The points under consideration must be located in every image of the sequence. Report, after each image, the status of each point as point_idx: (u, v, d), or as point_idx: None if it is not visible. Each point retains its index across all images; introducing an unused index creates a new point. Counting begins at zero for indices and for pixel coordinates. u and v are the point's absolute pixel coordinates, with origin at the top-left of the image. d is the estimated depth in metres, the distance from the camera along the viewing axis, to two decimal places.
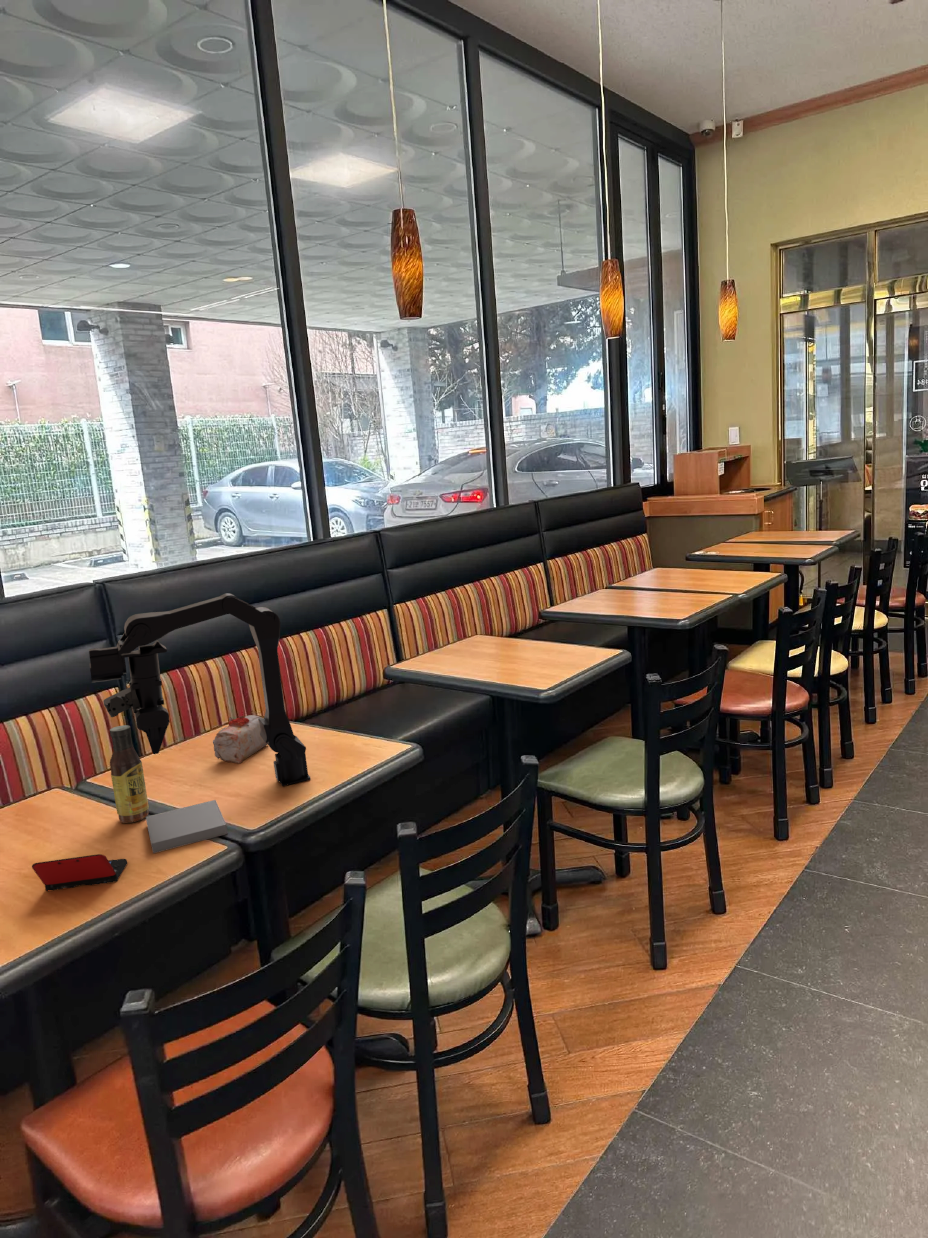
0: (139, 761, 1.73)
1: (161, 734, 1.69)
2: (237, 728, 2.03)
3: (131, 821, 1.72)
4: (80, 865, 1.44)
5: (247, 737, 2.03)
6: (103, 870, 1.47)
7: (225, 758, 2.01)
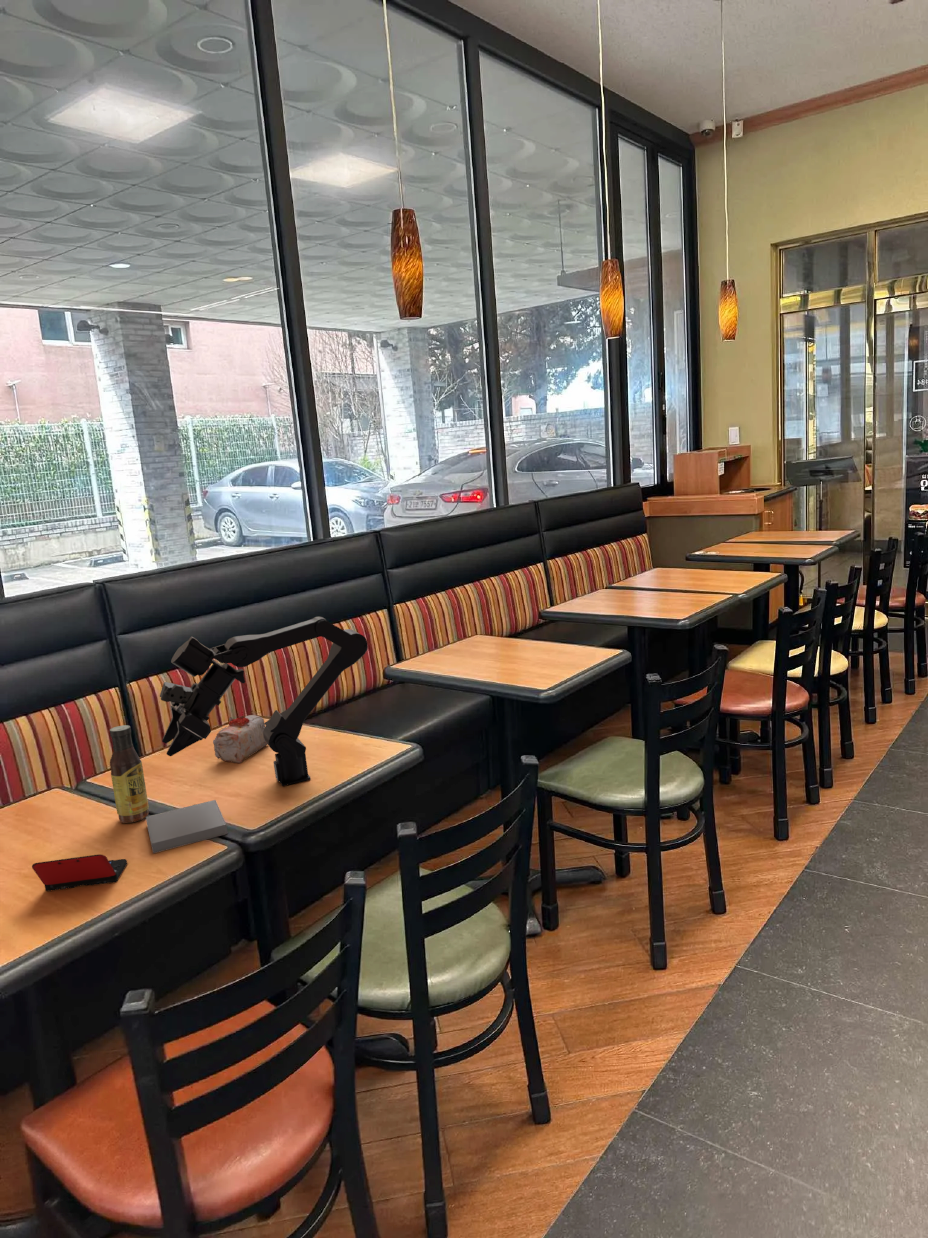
0: (139, 761, 1.73)
1: (187, 743, 1.72)
2: (237, 728, 2.03)
3: (131, 821, 1.72)
4: (80, 865, 1.44)
5: (247, 737, 2.03)
6: (103, 870, 1.46)
7: (225, 758, 2.01)
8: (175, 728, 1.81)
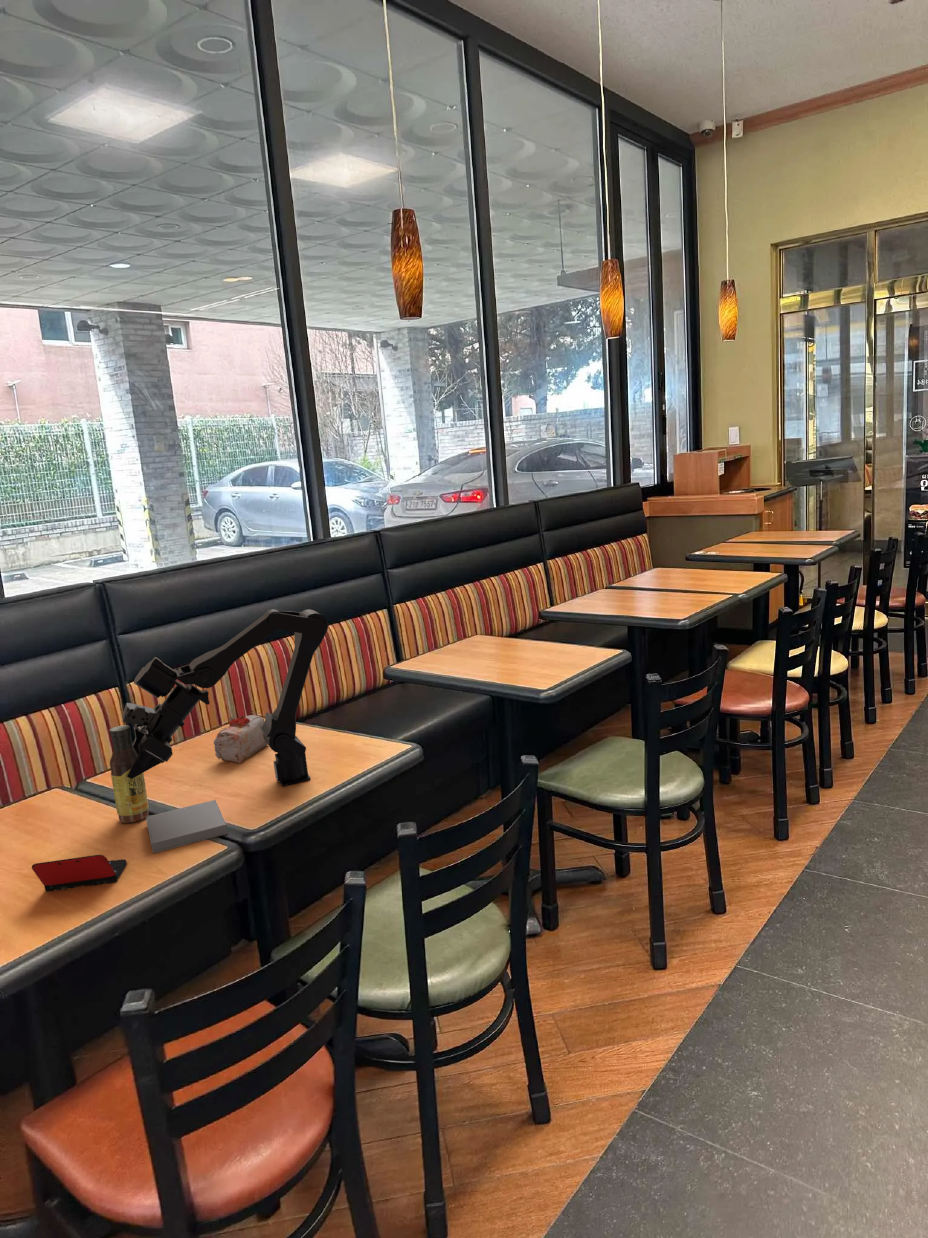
0: None
1: (149, 765, 1.69)
2: (238, 728, 2.03)
3: (131, 821, 1.72)
4: (80, 865, 1.44)
5: (247, 737, 2.03)
6: (103, 871, 1.46)
7: (226, 758, 2.01)
8: (138, 749, 1.78)
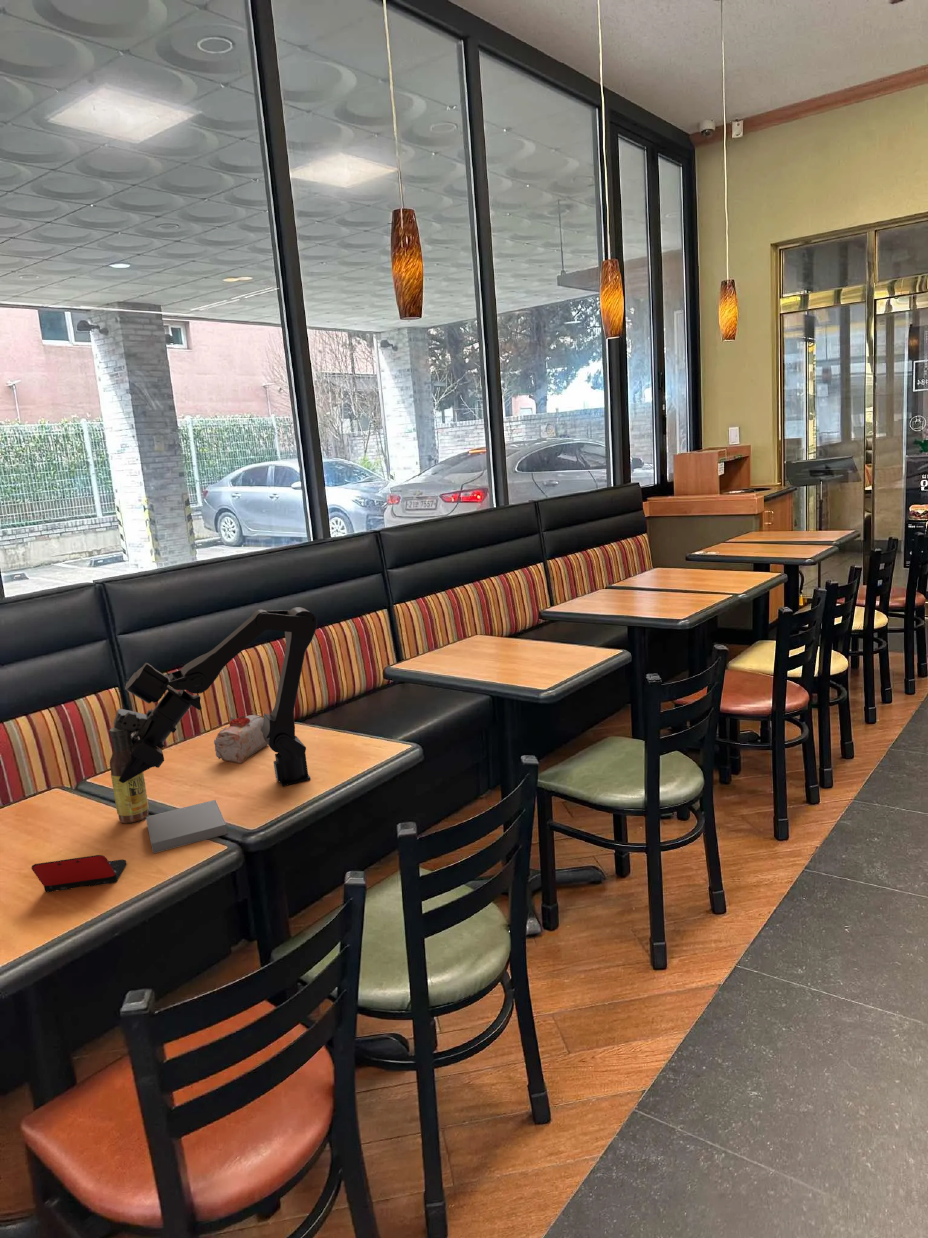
0: None
1: (140, 770, 1.70)
2: (238, 728, 2.03)
3: (131, 821, 1.72)
4: (80, 866, 1.44)
5: (248, 737, 2.03)
6: (103, 871, 1.46)
7: (226, 758, 2.01)
8: None
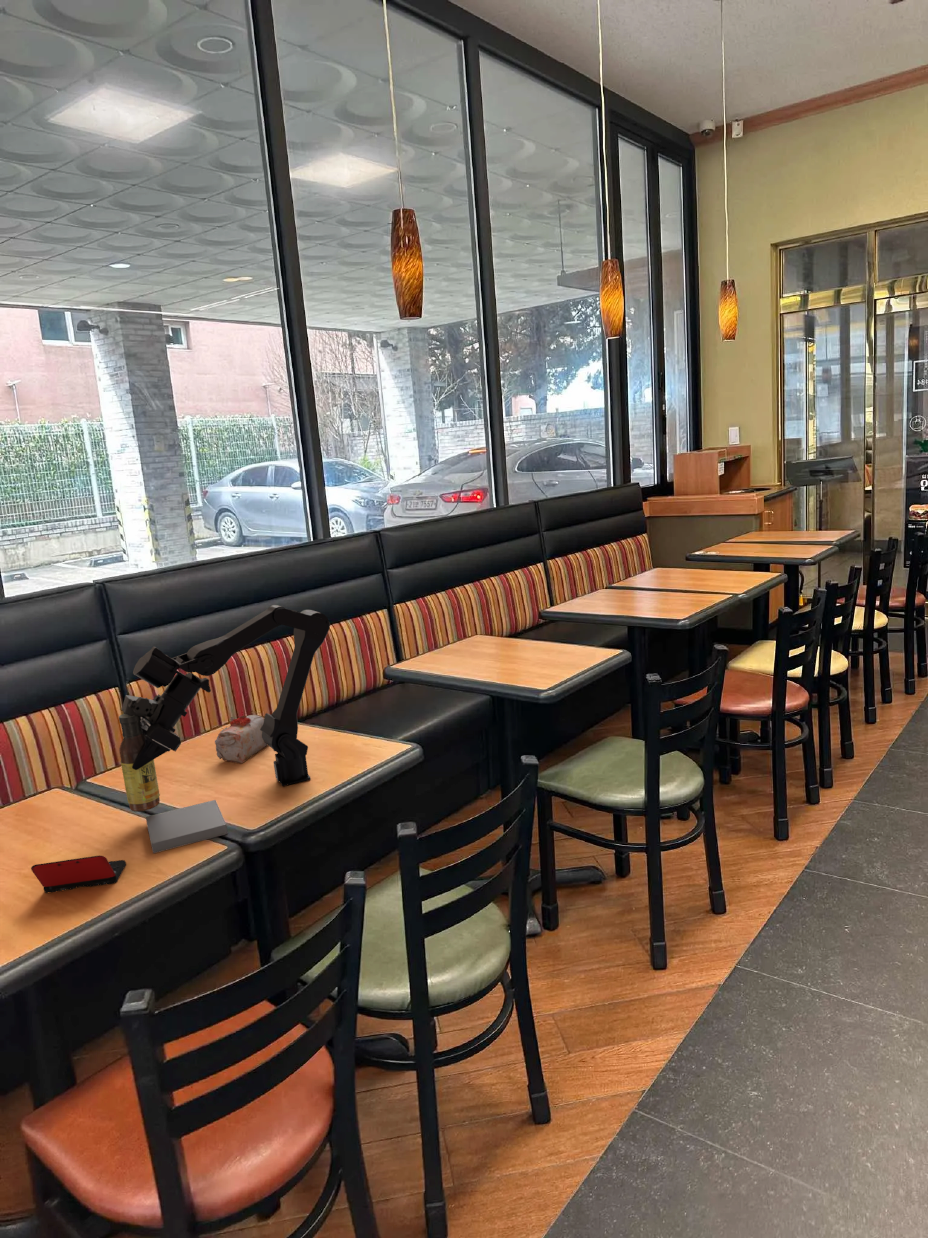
0: None
1: (154, 755, 1.66)
2: (239, 728, 2.03)
3: (144, 809, 1.68)
4: (80, 866, 1.44)
5: (249, 736, 2.03)
6: (103, 871, 1.46)
7: (227, 758, 2.01)
8: None
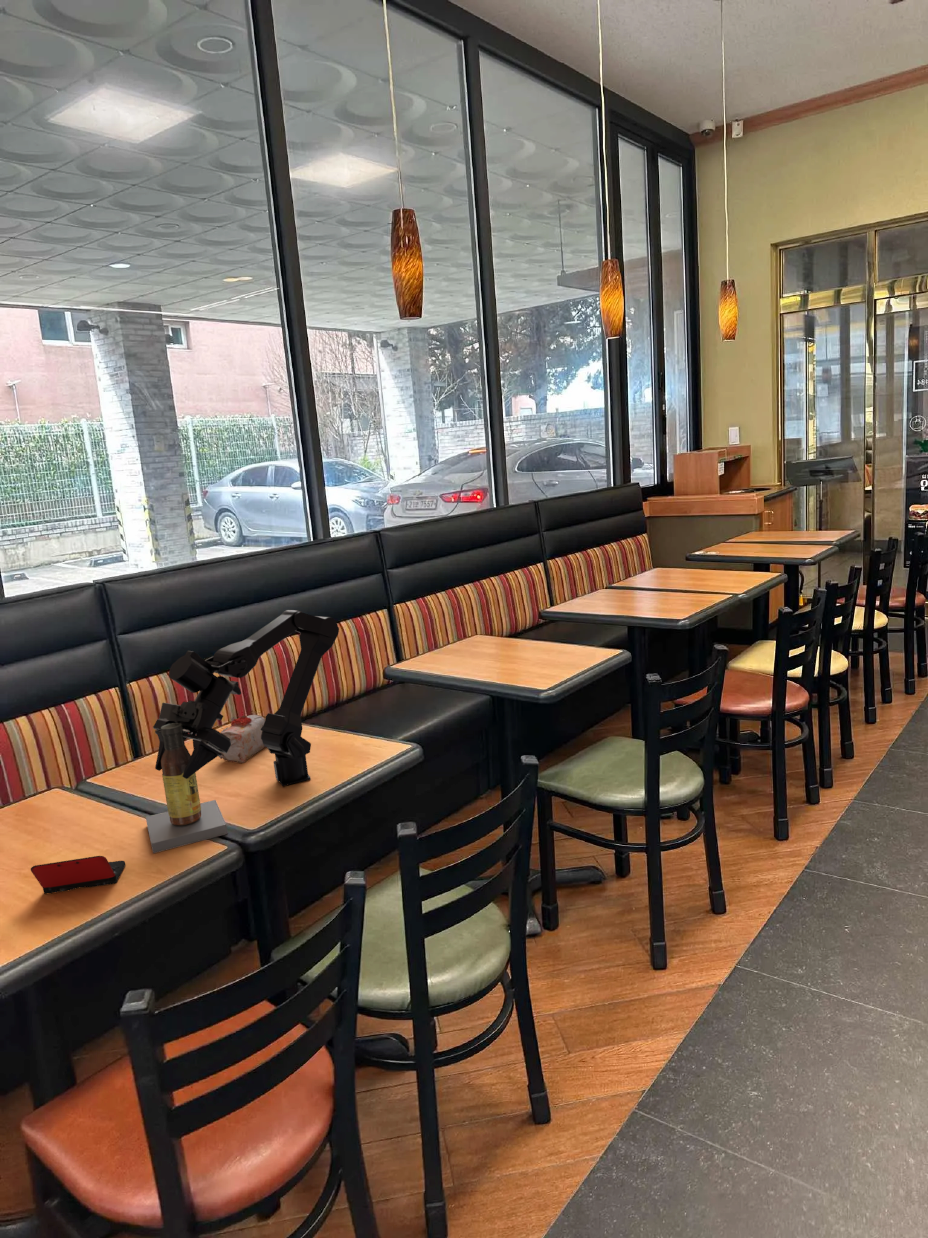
0: None
1: (205, 761, 1.63)
2: (240, 728, 2.03)
3: (191, 822, 1.64)
4: (79, 867, 1.44)
5: (250, 736, 2.03)
6: (103, 872, 1.46)
7: (228, 758, 2.01)
8: None
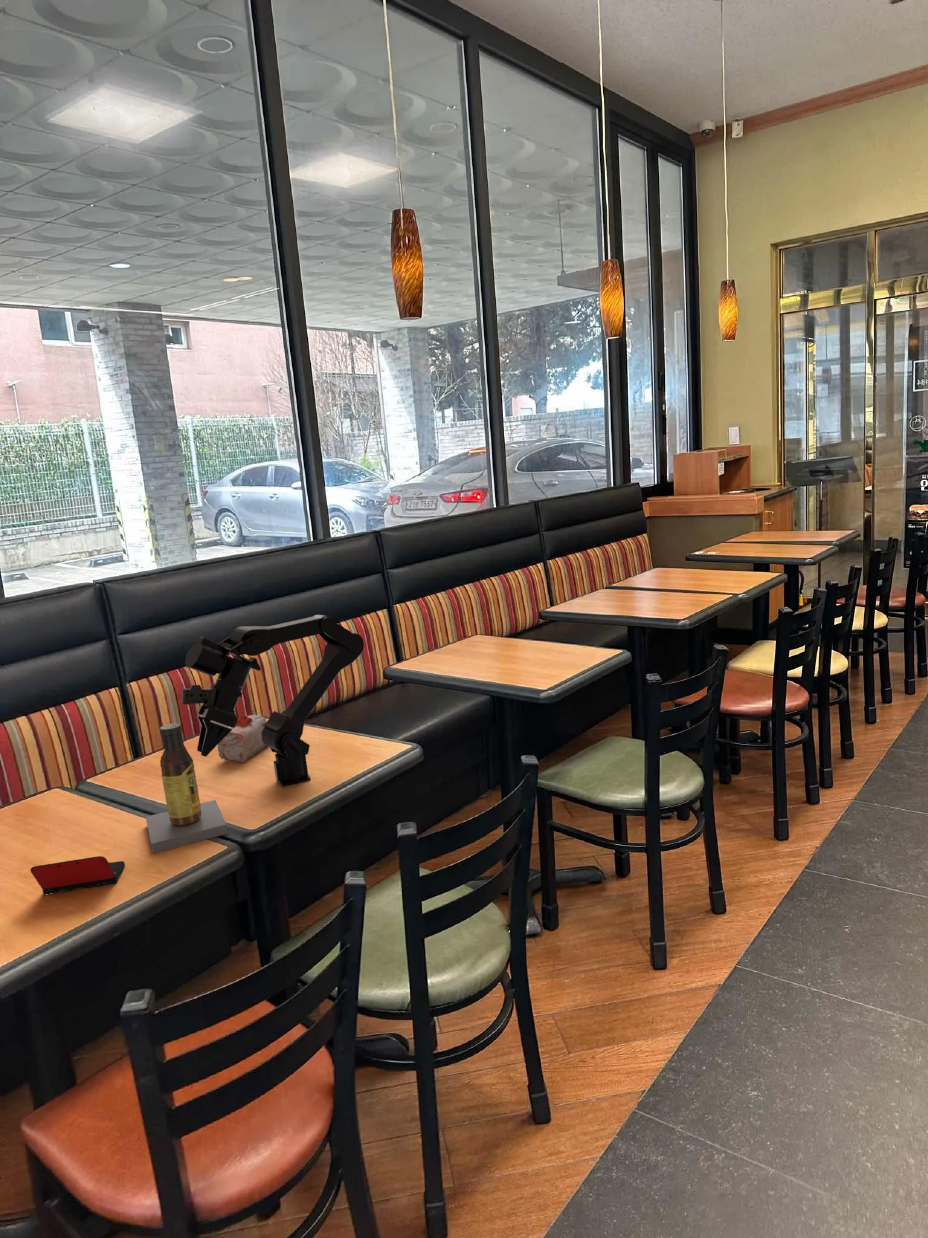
0: (191, 758, 1.66)
1: (219, 738, 1.69)
2: (241, 728, 2.03)
3: (191, 822, 1.64)
4: (79, 867, 1.44)
5: (251, 736, 2.03)
6: (103, 872, 1.46)
7: (230, 758, 2.01)
8: None
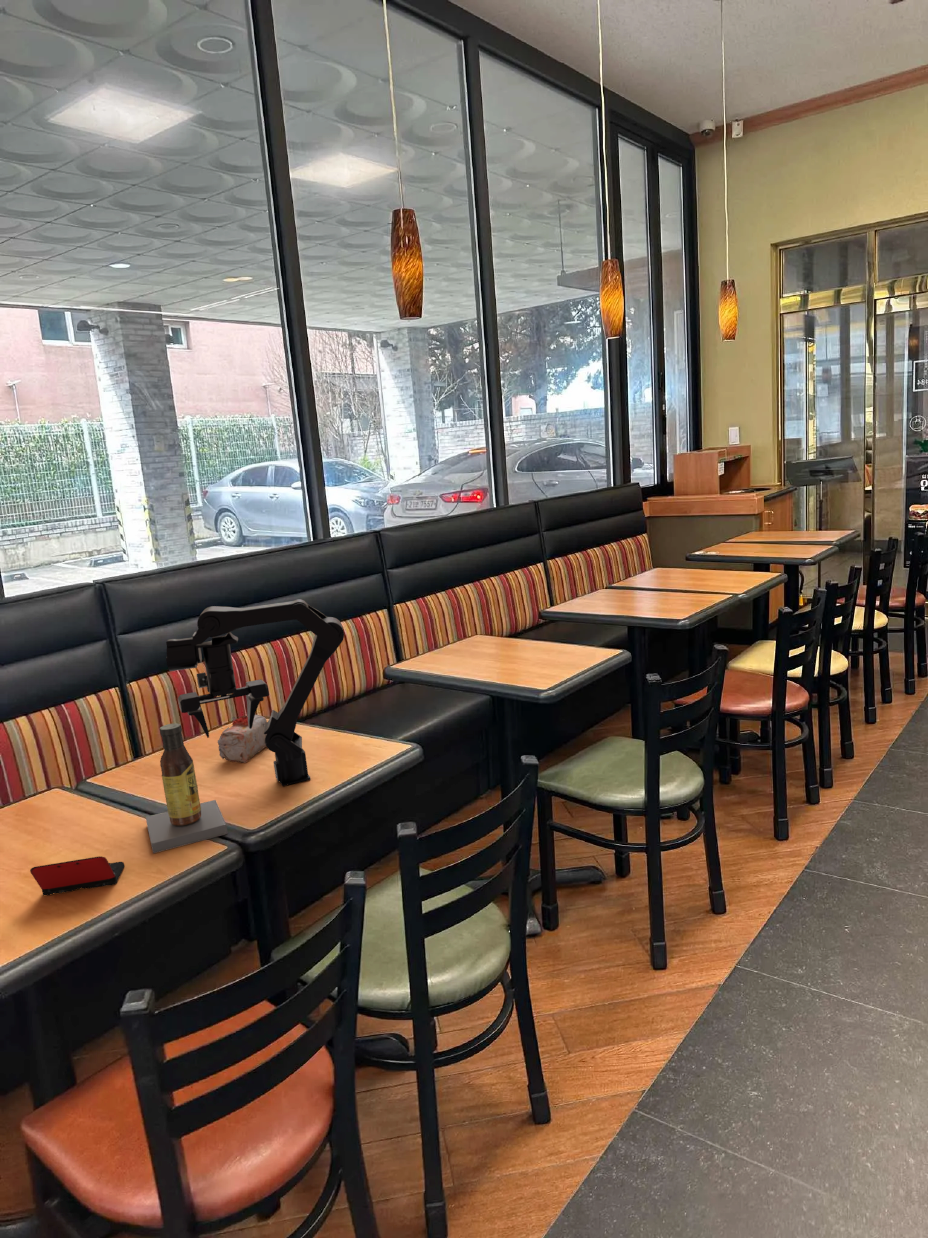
0: (191, 758, 1.66)
1: (199, 721, 1.79)
2: (242, 727, 2.03)
3: (191, 822, 1.64)
4: (79, 868, 1.43)
5: (252, 736, 2.03)
6: (103, 873, 1.46)
7: (231, 758, 2.01)
8: (248, 712, 1.85)
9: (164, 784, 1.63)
